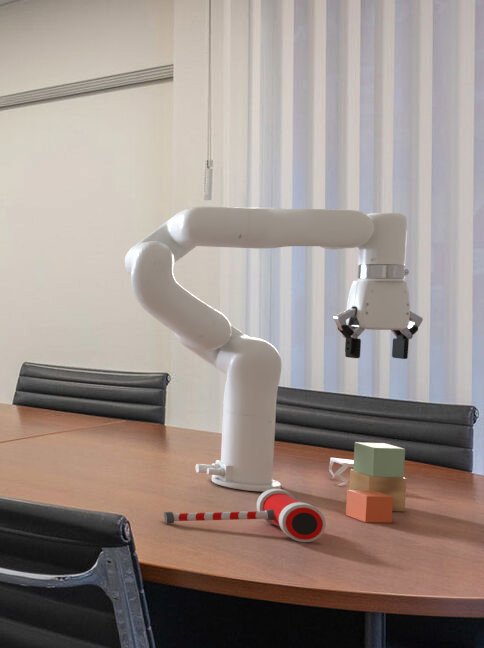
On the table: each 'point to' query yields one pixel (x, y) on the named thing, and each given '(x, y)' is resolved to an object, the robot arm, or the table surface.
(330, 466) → the origami figure
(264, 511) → the toy hammer
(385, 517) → the top block
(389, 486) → the base block
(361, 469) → the middle block
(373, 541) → the table surface
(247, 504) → the table surface
